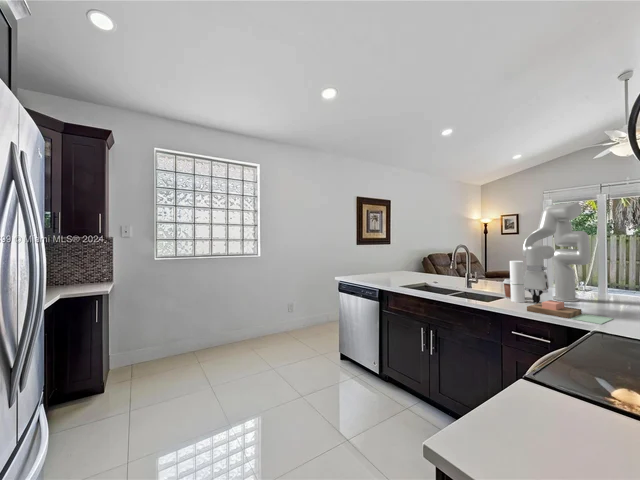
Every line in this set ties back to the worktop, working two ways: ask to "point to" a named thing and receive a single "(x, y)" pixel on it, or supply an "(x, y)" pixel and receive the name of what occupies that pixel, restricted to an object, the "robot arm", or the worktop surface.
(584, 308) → the worktop surface
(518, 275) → the cylindrical container
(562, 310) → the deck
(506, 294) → the coffee cup
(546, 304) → the pink rectangular block
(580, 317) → the mat
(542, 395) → the worktop surface
